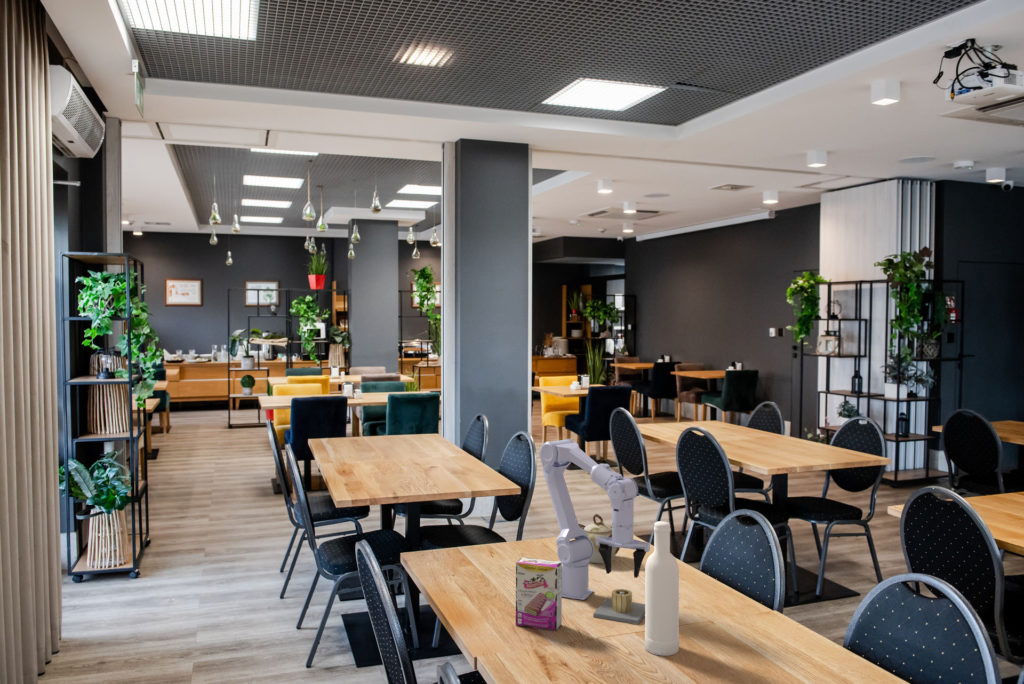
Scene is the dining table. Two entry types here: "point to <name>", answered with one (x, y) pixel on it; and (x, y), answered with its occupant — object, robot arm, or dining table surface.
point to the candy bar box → (538, 593)
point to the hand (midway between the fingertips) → (622, 574)
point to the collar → (621, 601)
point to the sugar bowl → (601, 531)
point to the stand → (630, 617)
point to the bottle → (662, 595)
